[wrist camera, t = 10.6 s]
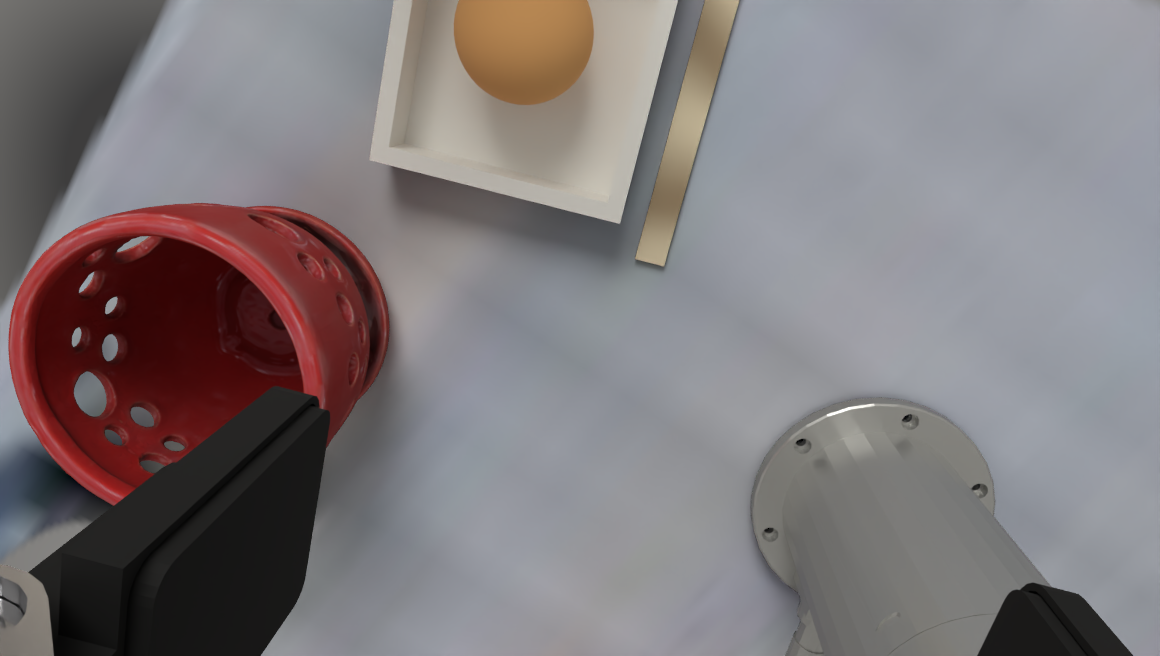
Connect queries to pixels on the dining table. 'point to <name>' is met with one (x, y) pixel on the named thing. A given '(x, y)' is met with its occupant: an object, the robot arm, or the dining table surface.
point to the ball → (524, 46)
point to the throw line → (686, 129)
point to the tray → (522, 110)
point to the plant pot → (190, 330)
